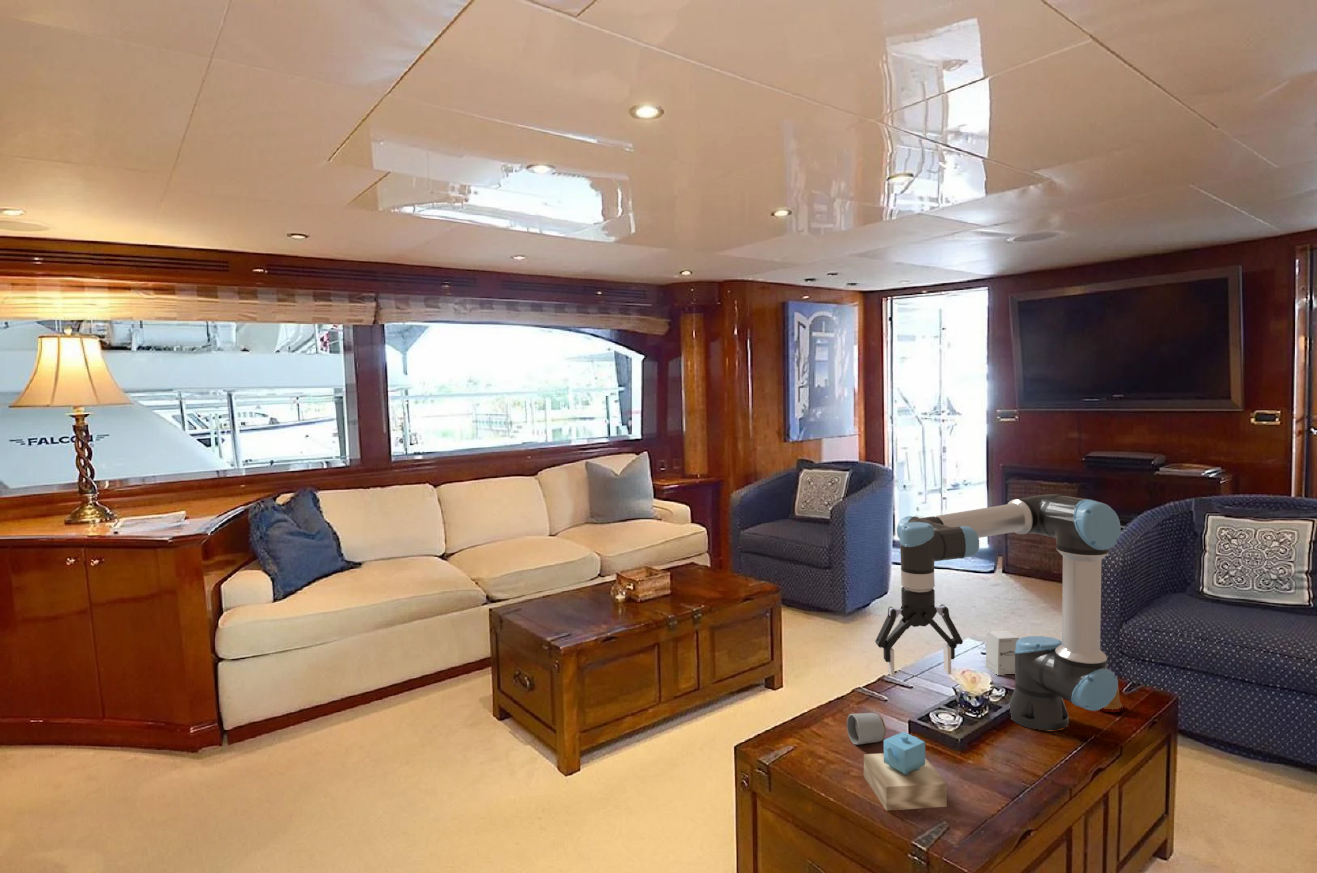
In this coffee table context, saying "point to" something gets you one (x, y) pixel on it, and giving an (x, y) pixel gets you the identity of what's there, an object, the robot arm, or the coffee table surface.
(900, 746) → the blue notched cube block
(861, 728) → the ceramic mug
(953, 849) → the coffee table surface
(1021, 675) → the robot arm
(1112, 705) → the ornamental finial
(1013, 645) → the supplement box
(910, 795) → the maple block
